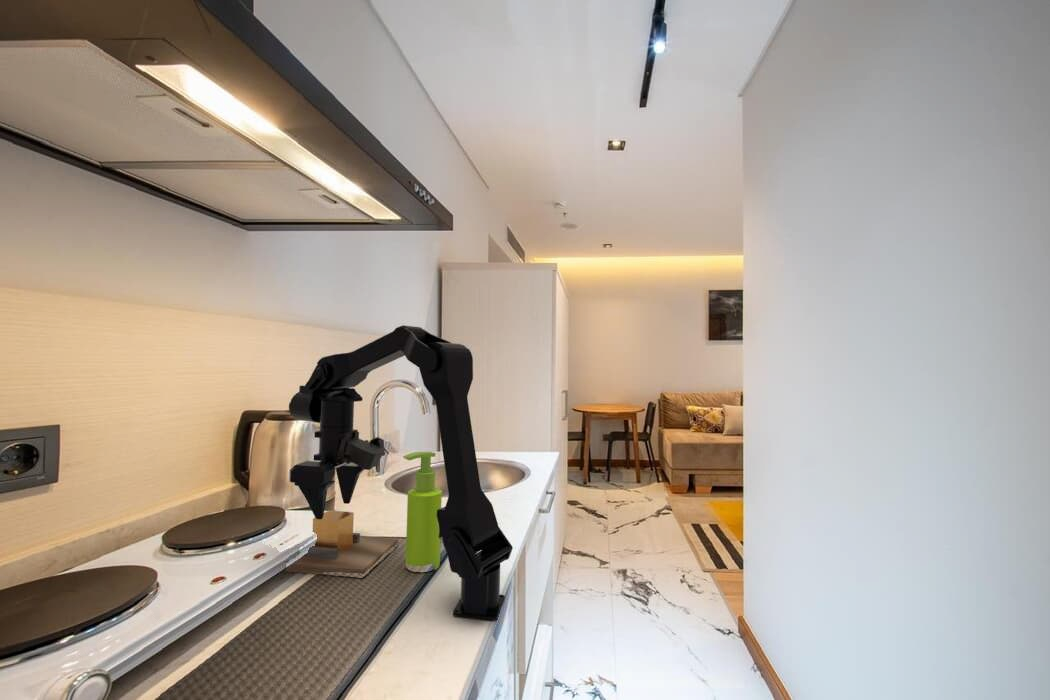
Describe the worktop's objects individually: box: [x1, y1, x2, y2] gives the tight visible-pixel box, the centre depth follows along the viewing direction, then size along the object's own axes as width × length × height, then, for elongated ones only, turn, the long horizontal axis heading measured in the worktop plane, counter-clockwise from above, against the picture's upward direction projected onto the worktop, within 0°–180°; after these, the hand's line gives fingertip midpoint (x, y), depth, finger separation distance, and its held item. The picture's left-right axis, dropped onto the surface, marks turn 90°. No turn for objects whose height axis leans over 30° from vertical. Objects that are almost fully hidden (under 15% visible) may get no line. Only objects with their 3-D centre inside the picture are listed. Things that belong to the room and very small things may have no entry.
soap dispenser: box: [402, 451, 443, 571], centre depth 84 cm, size 6×7×20 cm
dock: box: [284, 532, 399, 575], centre depth 87 cm, size 14×14×3 cm
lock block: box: [312, 509, 355, 554], centre depth 87 cm, size 5×5×6 cm
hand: (333, 510), depth 88 cm, fingers open, 9 cm apart
